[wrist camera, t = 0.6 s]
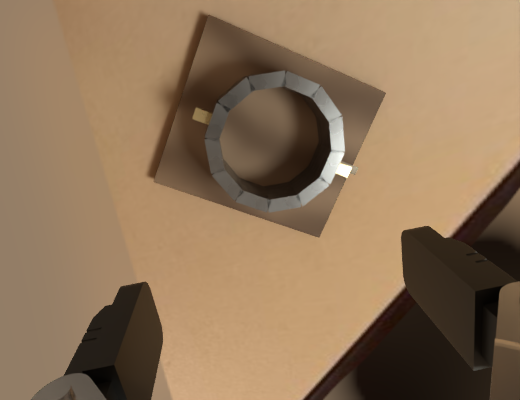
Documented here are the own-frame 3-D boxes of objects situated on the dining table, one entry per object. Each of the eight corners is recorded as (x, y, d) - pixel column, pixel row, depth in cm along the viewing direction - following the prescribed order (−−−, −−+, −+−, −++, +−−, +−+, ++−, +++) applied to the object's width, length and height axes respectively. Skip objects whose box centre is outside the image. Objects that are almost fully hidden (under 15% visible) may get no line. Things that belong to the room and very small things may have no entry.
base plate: (208, 16, 35) (208, 14, 34) (386, 94, 39) (392, 95, 38) (155, 178, 39) (153, 182, 38) (321, 234, 43) (324, 240, 41)
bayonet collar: (218, 45, 35) (218, 41, 30) (362, 107, 38) (381, 110, 33) (176, 168, 38) (171, 179, 33) (313, 215, 41) (324, 232, 36)
